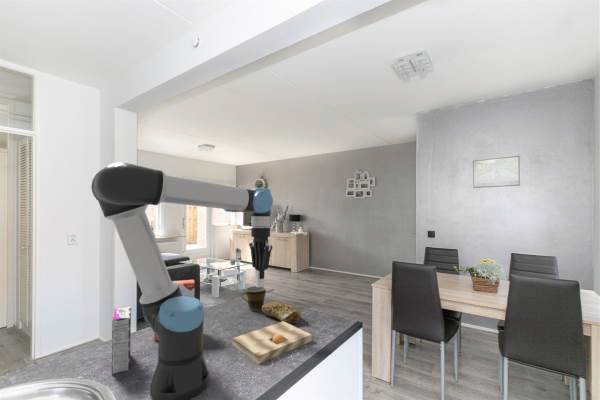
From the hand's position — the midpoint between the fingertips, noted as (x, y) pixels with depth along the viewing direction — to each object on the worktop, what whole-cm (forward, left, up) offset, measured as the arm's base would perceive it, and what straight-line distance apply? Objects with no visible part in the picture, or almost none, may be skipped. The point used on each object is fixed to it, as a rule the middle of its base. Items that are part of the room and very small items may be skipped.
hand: (259, 286), depth 113 cm
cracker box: (-25, +22, -20) cm, 38 cm away
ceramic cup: (+14, +26, -20) cm, 35 cm away
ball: (0, -12, -17) cm, 21 cm away
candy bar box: (-45, +12, -20) cm, 50 cm away
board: (0, -9, -19) cm, 21 cm away
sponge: (+18, +9, -20) cm, 28 cm away
